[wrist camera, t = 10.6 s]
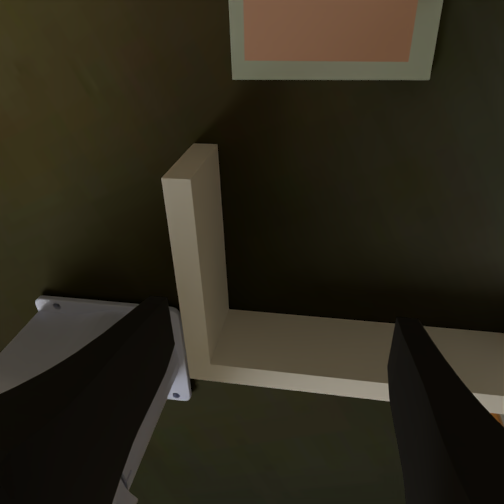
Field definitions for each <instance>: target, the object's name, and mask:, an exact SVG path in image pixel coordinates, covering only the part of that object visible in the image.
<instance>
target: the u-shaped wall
mask: <svg viewBox="0 0 504 504" xmlns="http://www.w3.org/2000/svg"><path fill="white" fill-rule="evenodd" d="M161 180H162V187H163V194H164V201H165V208H166V215H167V222H168V229H169V236H170V243H171V250H172V257H173V264H174V271H175V278H176V285H177V292H178V299H179V306H180V313H181V320H182V327H183V334H184V341H185V348H186V355H187V362H188V369H189V376H190V378H191V379H200V380H208V381H217V382H226V383H235V384H243V385H252V386H261V387H269V388H278V389H287V390H296V391H304V392H313V393H322V394H330V395H339V396H348V397H357V398H365V399H374V400H383V401H390V399H389V388H388V371H387V365H388V360H389V354H390V349H391V343H392V338H393V333H394V327H395V324H394V323H382V322H371V321H360V320H348V319H337V318H325V317H314V316H302V315H291V314H279V313H268V312H256V311H245V310H234V309H229V302H228V287H227V273H226V258H225V244H224V229H223V215H222V200H221V186H220V171H219V157H218V144H198V143H193V144H192V145H191V146H190V148H189V149H188V150H187V151H186V152H185V153H184V154H183V155H182V156H181V157H180V158H179V159H178V161H177V162H176V163H175V164H174V165H173V166H172V167H171V168H170V169H169V170H168V171H167V172H166V174H165V175H164V176H163V177H162V178H161ZM423 327H424V328H425V330H426V331H427V333H428V334H429V336H430V337H431V339H432V340H433V342H434V343H435V345H436V346H437V348H438V349H439V351H440V352H441V354H442V355H443V356H444V358H445V359H446V361H447V362H448V363H449V364H450V366H451V367H452V368H453V370H454V371H455V372H456V374H457V375H458V376H459V378H460V379H461V380H462V381H463V383H464V384H465V385H466V386H467V388H468V389H469V390H470V391H471V392H472V393H473V395H474V396H475V397H476V398H477V399H478V400H479V402H480V403H481V404H482V405H483V406H484V407H485V408H486V409H487V410H488V411H489V413H496V414H504V333H497V332H486V331H474V330H463V329H451V328H440V327H428V326H423Z"/></svg>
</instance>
